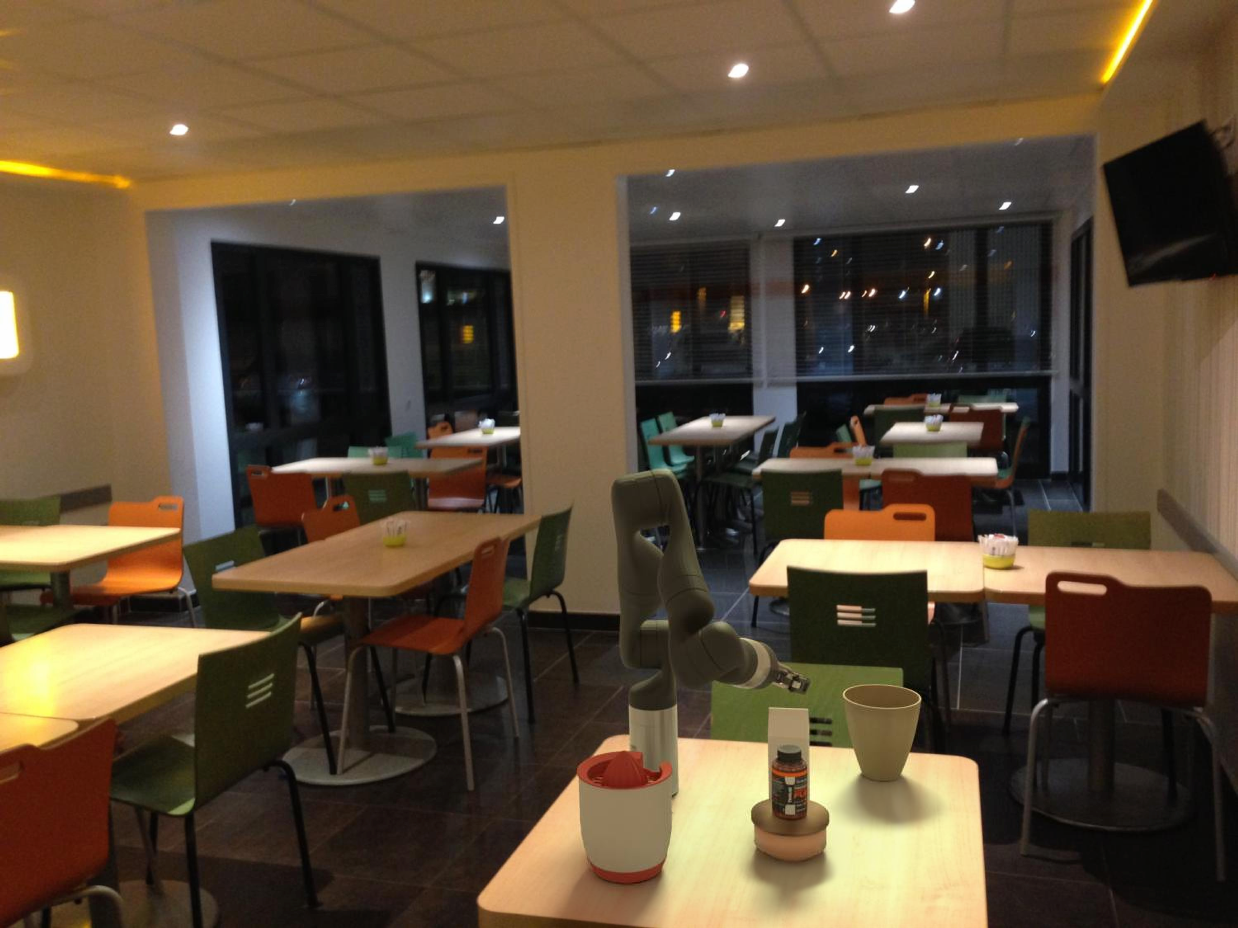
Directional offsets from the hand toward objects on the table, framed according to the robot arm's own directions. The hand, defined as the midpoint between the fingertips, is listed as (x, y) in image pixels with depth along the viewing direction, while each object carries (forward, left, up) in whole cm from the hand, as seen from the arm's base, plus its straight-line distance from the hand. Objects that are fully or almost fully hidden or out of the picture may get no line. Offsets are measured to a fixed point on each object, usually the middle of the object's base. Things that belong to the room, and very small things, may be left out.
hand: (778, 670), depth 179 cm
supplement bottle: (+1, -2, -24) cm, 24 cm away
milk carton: (+4, +14, -31) cm, 34 cm away
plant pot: (+25, +28, -31) cm, 49 cm away
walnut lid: (+1, -2, -25) cm, 25 cm away
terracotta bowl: (+1, -2, -31) cm, 31 cm away
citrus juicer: (-26, -5, -31) cm, 40 cm away
